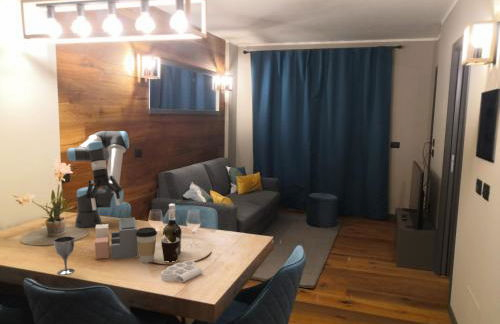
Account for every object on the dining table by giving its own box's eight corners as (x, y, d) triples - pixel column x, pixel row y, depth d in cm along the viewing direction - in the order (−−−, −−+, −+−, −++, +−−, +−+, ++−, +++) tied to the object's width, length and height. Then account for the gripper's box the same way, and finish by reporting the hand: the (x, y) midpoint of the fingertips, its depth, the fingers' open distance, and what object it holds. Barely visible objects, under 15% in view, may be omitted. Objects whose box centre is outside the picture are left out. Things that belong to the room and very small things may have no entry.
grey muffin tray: (178, 287, 164) (154, 278, 173) (207, 272, 179) (184, 265, 187) (178, 279, 164) (153, 270, 172) (207, 265, 178) (184, 258, 187)
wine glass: (53, 271, 177) (51, 239, 175) (71, 266, 183) (69, 235, 181) (60, 277, 172) (58, 243, 170) (78, 271, 178) (77, 239, 176)
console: (111, 244, 213) (110, 218, 211) (135, 242, 216) (134, 216, 215) (111, 259, 192) (110, 230, 190) (137, 257, 196) (136, 228, 194)
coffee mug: (169, 265, 186) (169, 244, 185) (157, 260, 191) (157, 240, 190) (188, 257, 195) (187, 238, 194) (176, 253, 200) (175, 234, 199)
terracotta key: (96, 253, 199) (95, 238, 198) (108, 252, 201) (108, 237, 199) (95, 258, 192) (94, 242, 191) (108, 257, 194) (108, 241, 193)
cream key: (96, 247, 208) (95, 224, 206) (109, 246, 210) (108, 223, 208) (96, 251, 201) (95, 228, 200) (109, 250, 203) (108, 227, 202)
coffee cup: (150, 255, 198) (150, 225, 196) (161, 260, 191) (161, 230, 189) (132, 260, 191) (131, 229, 189) (143, 266, 185) (142, 234, 183)
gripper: (74, 174, 218) (81, 212, 217) (117, 164, 215) (124, 203, 214) (82, 174, 226) (88, 211, 224) (123, 165, 223) (130, 202, 221)
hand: (106, 207), depth 219 cm, fingers open, 13 cm apart
